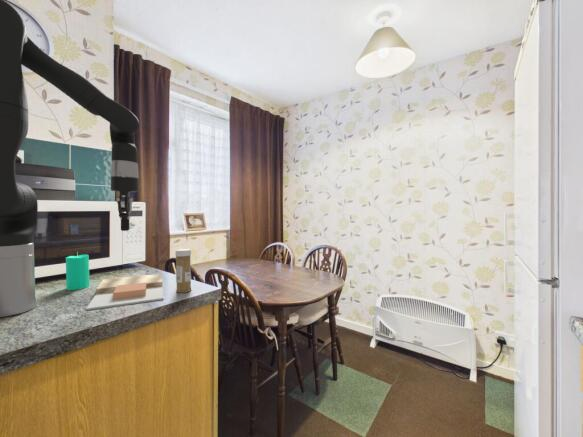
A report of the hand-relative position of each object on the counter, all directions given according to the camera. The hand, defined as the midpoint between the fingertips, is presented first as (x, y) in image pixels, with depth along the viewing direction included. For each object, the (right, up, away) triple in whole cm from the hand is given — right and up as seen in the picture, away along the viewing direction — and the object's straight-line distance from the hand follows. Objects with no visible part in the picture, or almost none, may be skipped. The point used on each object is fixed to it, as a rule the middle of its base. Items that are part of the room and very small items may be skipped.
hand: (125, 230), depth 84 cm
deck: (0, -19, +5) cm, 20 cm away
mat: (+5, -20, -7) cm, 21 cm away
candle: (-18, -19, +3) cm, 27 cm away
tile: (+5, -19, -5) cm, 20 cm away
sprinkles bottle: (+19, -20, 0) cm, 27 cm away
